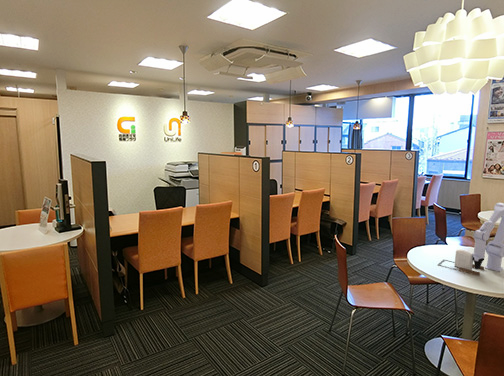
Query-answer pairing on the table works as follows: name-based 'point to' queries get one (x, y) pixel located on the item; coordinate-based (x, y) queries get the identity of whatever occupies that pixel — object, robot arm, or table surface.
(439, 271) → the table surface
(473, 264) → the walnut rails
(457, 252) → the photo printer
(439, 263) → the charcoal frame
